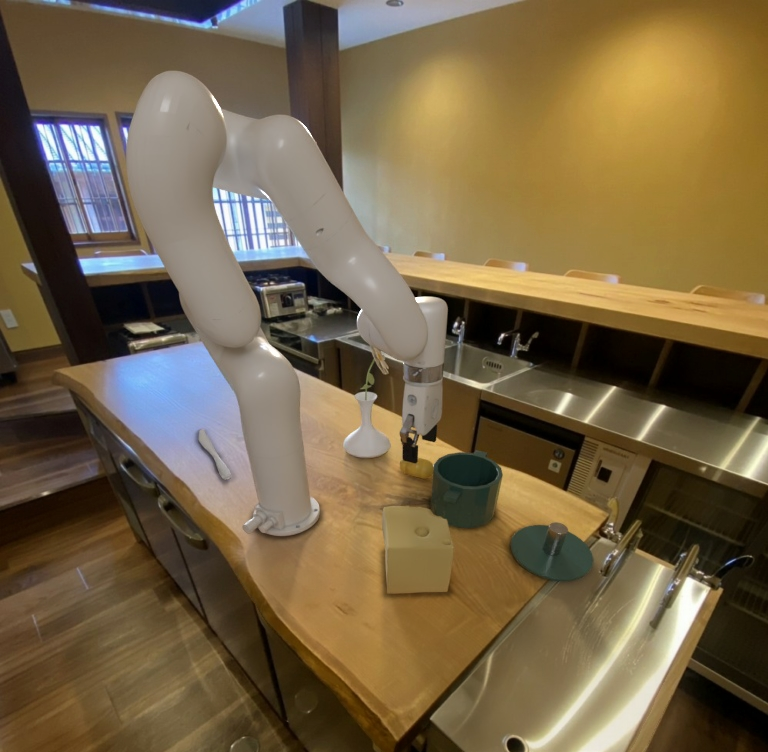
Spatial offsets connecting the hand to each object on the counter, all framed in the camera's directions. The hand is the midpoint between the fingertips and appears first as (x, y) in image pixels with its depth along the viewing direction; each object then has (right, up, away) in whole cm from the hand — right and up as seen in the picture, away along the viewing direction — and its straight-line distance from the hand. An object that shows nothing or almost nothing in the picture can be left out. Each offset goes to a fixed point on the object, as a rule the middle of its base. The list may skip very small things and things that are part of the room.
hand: (419, 450), depth 90 cm
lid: (+21, -20, -17) cm, 34 cm away
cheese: (-3, -23, -20) cm, 30 cm away
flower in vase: (-11, +2, +13) cm, 17 cm away
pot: (+8, -12, -6) cm, 16 cm away
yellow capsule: (0, -5, +4) cm, 6 cm away
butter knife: (-48, +1, +11) cm, 50 cm away
